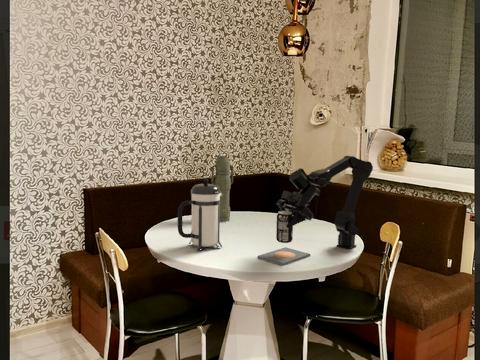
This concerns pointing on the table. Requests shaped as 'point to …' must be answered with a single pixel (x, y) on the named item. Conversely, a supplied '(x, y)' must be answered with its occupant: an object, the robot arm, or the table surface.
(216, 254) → the table surface
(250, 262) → the table surface
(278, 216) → the beverage can
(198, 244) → the coffee press
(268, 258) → the placemat
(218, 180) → the thermos
